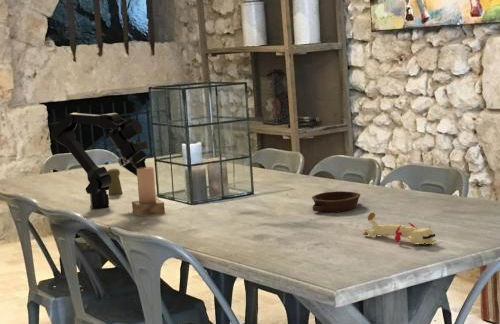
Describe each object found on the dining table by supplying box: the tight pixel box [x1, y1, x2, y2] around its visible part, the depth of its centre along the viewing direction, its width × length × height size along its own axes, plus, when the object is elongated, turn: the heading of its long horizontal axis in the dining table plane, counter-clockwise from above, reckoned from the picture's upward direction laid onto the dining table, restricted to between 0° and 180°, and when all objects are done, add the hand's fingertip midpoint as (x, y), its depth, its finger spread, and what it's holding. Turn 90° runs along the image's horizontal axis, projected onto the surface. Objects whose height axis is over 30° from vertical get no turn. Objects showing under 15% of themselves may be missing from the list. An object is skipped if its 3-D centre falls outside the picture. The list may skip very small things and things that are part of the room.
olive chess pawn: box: [107, 168, 123, 196], centre depth 379 cm, size 6×6×11 cm
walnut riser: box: [131, 198, 166, 217], centre depth 336 cm, size 10×10×4 cm
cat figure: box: [362, 212, 437, 245], centre depth 267 cm, size 10×9×25 cm
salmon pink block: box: [136, 166, 157, 204], centre depth 334 cm, size 6×6×13 cm
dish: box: [311, 190, 361, 213], centre depth 320 cm, size 18×22×5 cm
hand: (143, 176), depth 347 cm, fingers open, 9 cm apart
